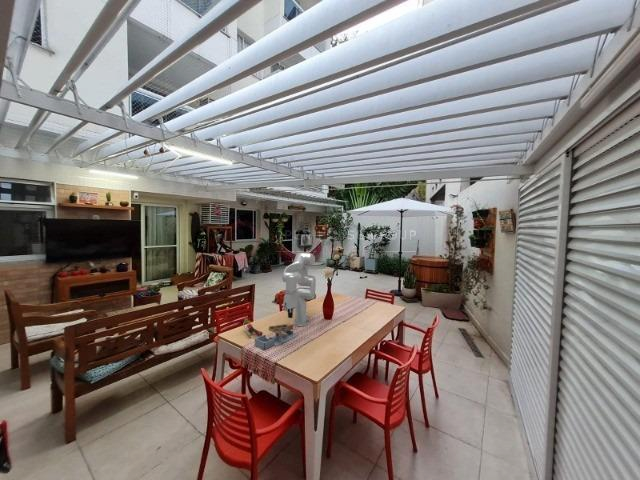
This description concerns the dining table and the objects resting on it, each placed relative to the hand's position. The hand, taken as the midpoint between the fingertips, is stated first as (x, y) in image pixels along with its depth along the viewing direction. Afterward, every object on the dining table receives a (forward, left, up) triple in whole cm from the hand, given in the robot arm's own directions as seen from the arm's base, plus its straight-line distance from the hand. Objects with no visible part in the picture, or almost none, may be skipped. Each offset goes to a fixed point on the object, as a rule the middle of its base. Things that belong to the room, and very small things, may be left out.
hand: (290, 317), depth 178 cm
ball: (-11, -12, -13) cm, 21 cm away
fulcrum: (-3, -11, -20) cm, 23 cm away
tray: (+12, -12, -20) cm, 27 cm away
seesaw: (-3, -8, -14) cm, 16 cm away
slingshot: (+9, -33, -21) cm, 40 cm away
